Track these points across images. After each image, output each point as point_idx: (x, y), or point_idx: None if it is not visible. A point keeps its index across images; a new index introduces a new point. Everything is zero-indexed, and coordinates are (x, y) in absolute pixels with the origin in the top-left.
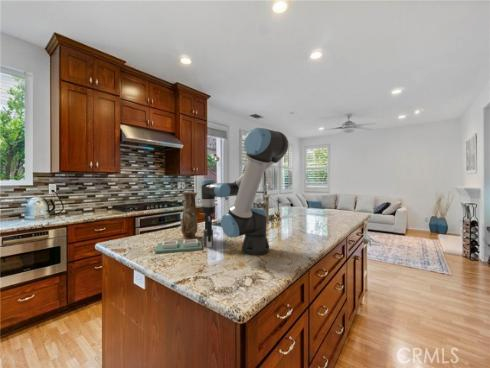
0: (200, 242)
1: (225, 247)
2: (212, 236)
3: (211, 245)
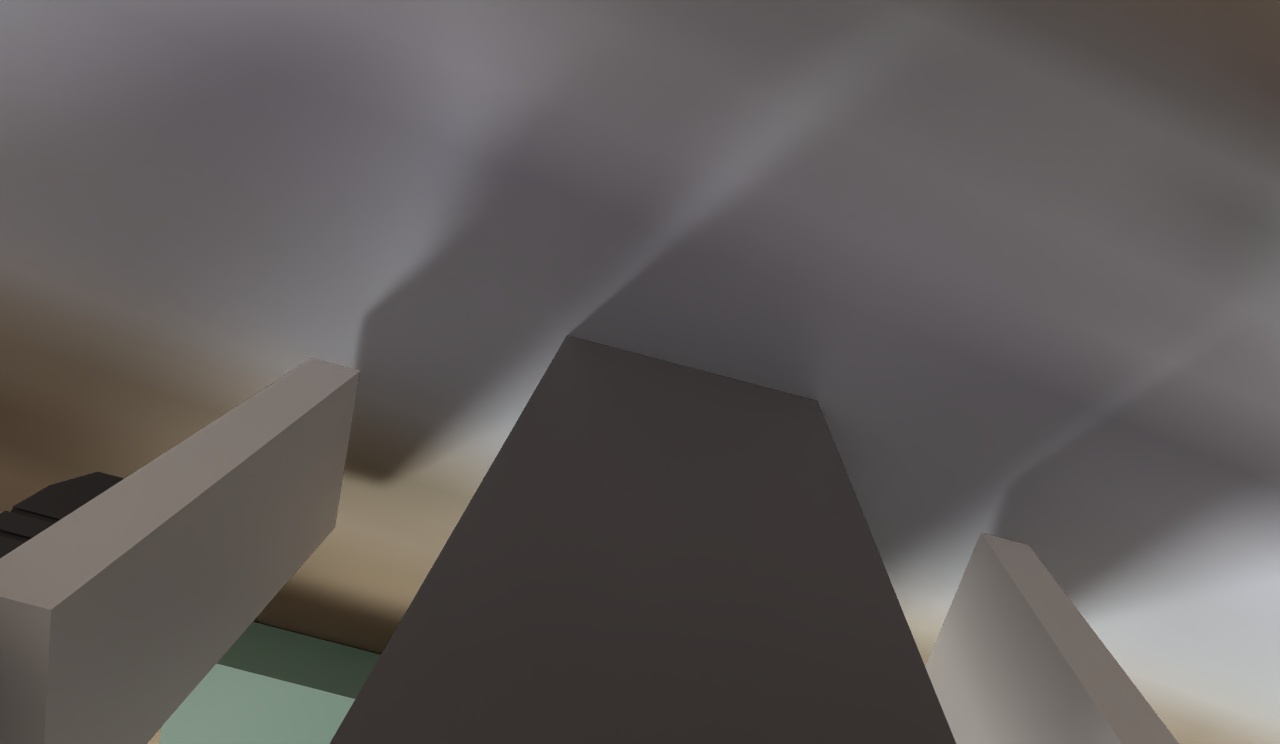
0: None
1: (1246, 19)
2: (892, 628)
3: (1048, 582)
